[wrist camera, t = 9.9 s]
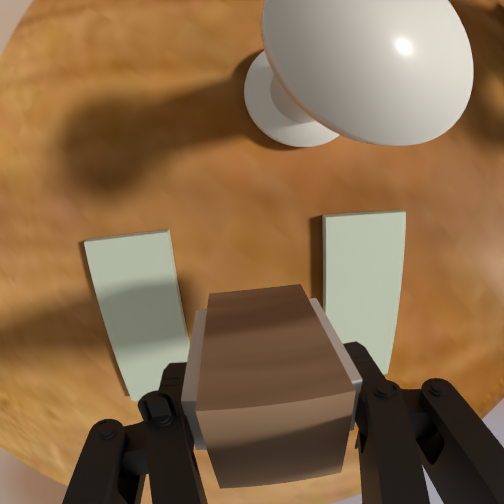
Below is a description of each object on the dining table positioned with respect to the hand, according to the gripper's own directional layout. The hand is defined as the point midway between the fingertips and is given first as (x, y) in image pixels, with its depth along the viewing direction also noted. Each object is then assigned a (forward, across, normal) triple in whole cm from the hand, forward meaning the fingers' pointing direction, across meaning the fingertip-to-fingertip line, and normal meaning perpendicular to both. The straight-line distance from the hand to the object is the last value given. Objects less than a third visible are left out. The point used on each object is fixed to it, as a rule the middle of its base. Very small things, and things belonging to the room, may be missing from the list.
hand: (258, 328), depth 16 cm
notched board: (+6, 0, -3) cm, 7 cm away
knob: (+6, +4, +12) cm, 14 cm away
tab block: (0, 0, 0) cm, 0 cm away
